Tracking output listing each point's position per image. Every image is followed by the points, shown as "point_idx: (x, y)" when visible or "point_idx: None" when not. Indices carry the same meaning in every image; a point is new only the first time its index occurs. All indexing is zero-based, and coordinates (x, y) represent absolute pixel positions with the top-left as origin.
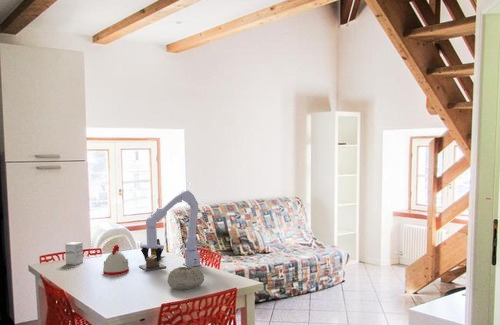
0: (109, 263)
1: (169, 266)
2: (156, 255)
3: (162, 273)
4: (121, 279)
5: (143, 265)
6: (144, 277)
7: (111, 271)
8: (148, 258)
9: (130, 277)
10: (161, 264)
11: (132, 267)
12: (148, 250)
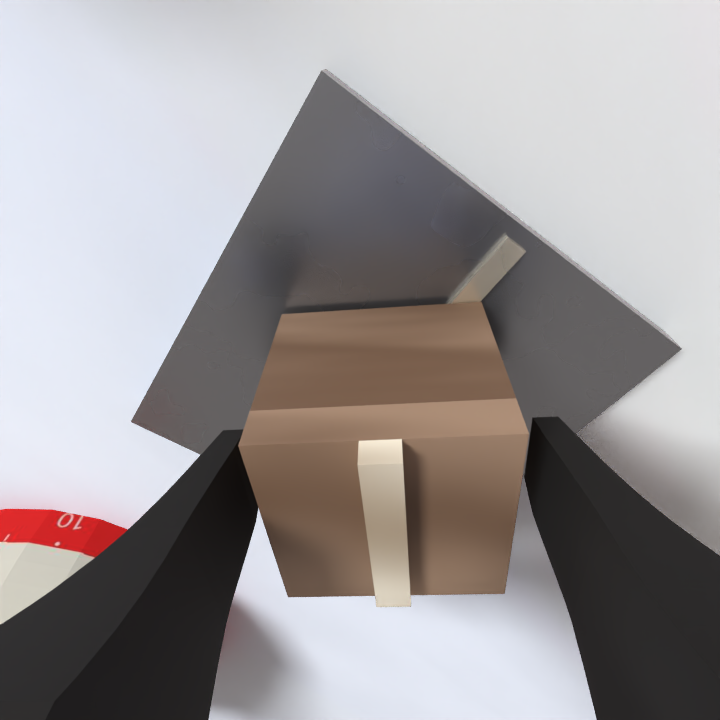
0: None
1: (702, 209)
2: (576, 636)
3: None
4: (352, 717)
5: (205, 407)
6: (530, 667)
7: None
8: (356, 590)
9: (390, 682)
10: (517, 257)
11: (63, 437)
12: (126, 631)
